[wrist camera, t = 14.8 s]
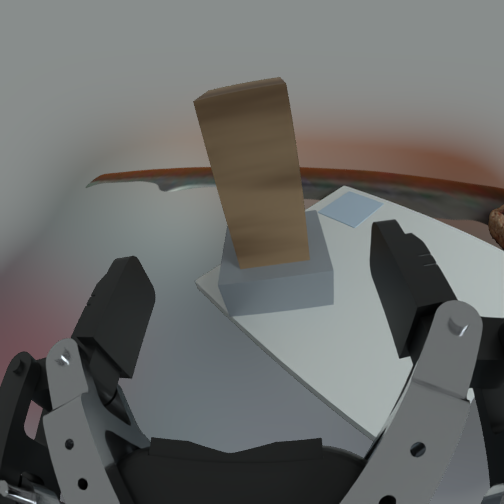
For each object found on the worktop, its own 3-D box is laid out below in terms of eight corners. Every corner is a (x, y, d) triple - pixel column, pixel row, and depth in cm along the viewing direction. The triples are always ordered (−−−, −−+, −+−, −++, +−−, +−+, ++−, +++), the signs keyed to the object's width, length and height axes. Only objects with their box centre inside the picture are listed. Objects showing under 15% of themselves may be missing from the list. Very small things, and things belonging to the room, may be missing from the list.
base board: (343, 192, 36) (341, 160, 33) (519, 269, 20) (534, 232, 17) (195, 288, 27) (179, 251, 25) (418, 476, 11) (447, 462, 8)
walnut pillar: (243, 230, 25) (208, 90, 18) (302, 221, 25) (280, 77, 17) (240, 269, 21) (193, 101, 14) (309, 259, 21) (285, 83, 13)
